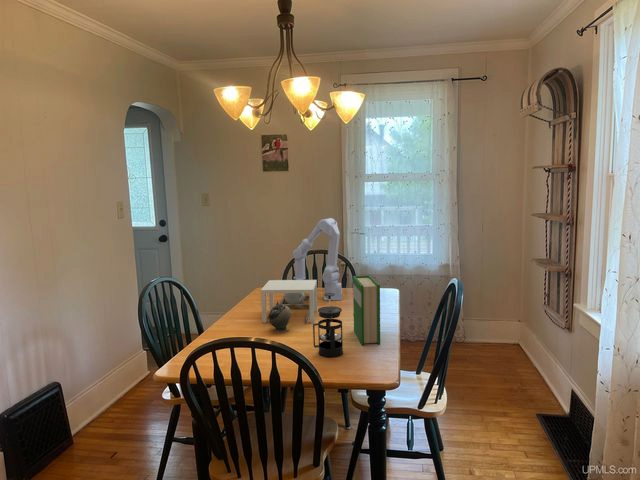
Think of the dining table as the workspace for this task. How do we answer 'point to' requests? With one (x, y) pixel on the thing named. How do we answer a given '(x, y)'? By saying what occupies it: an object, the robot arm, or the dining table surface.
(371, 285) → the hardback book
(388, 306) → the dining table surface
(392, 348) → the dining table surface
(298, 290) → the shelf
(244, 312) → the dining table surface
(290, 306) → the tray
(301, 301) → the teacup
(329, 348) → the french press
